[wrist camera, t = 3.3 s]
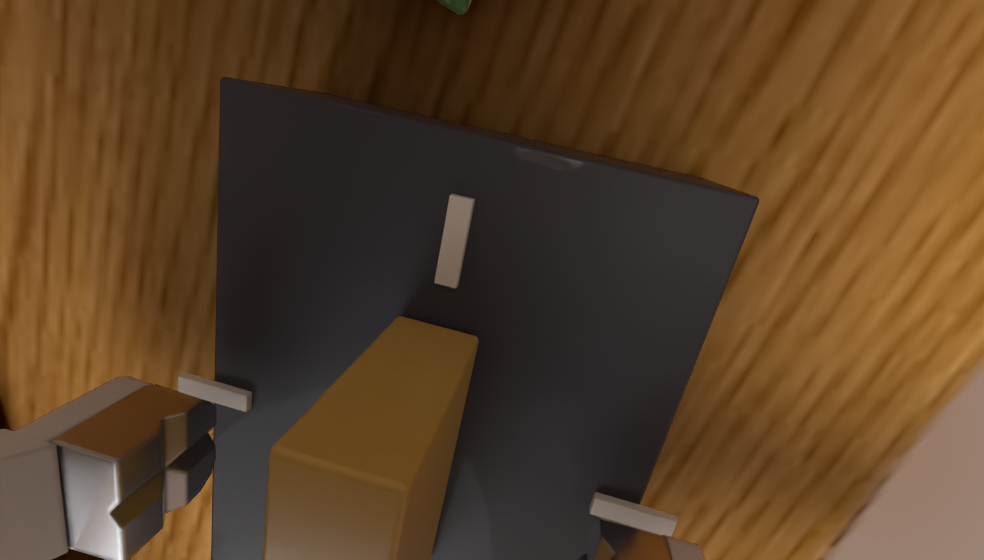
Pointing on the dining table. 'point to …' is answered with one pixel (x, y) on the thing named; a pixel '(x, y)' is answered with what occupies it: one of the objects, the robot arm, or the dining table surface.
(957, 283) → the dining table surface
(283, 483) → the thumbturn
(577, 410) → the lock plate
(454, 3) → the dish towel
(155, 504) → the robot arm
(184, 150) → the dining table surface
